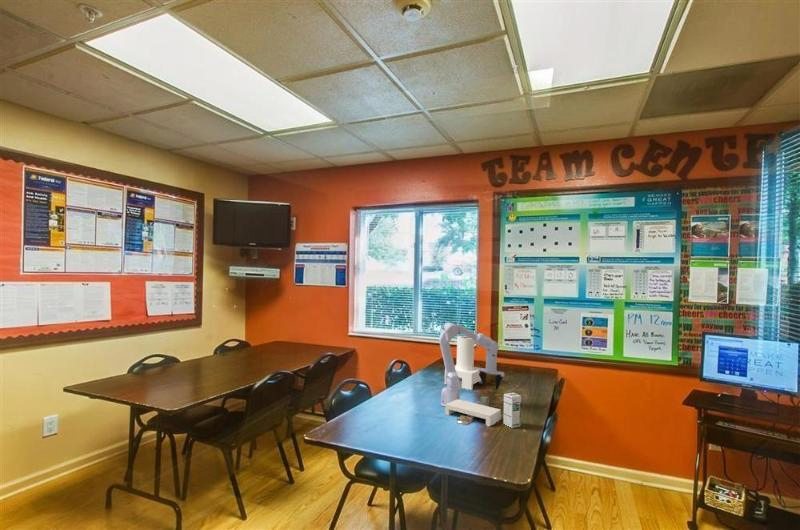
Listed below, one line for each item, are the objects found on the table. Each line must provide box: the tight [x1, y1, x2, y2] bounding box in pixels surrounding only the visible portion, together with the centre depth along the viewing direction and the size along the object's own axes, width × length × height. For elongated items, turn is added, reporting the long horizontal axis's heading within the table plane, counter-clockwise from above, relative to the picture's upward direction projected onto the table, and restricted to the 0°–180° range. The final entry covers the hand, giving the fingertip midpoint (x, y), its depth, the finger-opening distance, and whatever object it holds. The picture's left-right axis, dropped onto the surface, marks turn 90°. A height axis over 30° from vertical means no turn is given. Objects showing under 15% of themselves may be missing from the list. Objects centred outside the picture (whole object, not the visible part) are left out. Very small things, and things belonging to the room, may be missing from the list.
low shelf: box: [444, 399, 502, 427], centre depth 200 cm, size 24×12×5 cm, turn 52°
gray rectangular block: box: [459, 395, 490, 423], centre depth 203 cm, size 22×6×7 cm, turn 142°
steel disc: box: [456, 418, 470, 426], centre depth 192 cm, size 6×6×1 cm
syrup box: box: [503, 392, 522, 429], centre depth 191 cm, size 6×6×14 cm
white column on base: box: [444, 335, 485, 391], centre depth 262 cm, size 19×19×30 cm
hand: (490, 387), depth 221 cm, fingers open, 7 cm apart
